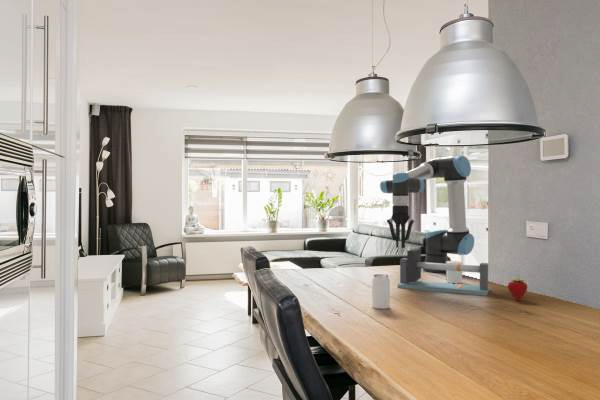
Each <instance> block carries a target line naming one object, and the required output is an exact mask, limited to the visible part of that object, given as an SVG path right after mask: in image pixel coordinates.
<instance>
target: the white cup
mask: <svg viewBox="0 0 600 400" xmlns="http://www.w3.org/2000/svg"><path fill="white" fill-rule="evenodd" d="M446 264H461V265H464V261H463V262H462V261H457V260H454V261H453V260H448V261H446ZM445 274H446V283H452V284H453V283H455V284H458V283H459V284H463V283H462V281H463V280H462V279H463V271H449V270H446V272H445Z"/></svg>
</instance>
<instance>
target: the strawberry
mask: <svg viewBox="0 0 600 400" xmlns="http://www.w3.org/2000/svg"><path fill="white" fill-rule="evenodd" d="M517 277H519V275H518V274H517ZM525 281H526V280H525V279H519V278H518V279H517V278H515V279H511V281H509V283H507V289H508V291H509V293H510V294H511V295H512V296H513V298H514V299H515V300H517V301H520V300H521V299H522V298H523V296H524V295H525V294H526V292H527V290H528V284H527V283H526V282H525Z"/></svg>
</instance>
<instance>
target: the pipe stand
mask: <svg viewBox="0 0 600 400" xmlns="http://www.w3.org/2000/svg"><path fill="white" fill-rule="evenodd" d="M416 268H420V269H421V270H423V269H434V270H449V271H462V273H463V272H466V273H479V285H475V284H474V285H473V284H465V283H459V284H453V283H448V282H438V281H427V280H417V281H415V282H407V257H403V258H400V259H399V274H400V275H399V283H398V284H397V288H399V289H409V290H420V291H429V290H430V292H431V291H432V292H440V291H442V293H443V292H444V293H451V292H452V293H453V294H454V293H455V294H463V295H465V294H466V295H474V296H487V295H488V293H489V291H490V286H489V263H487V262H481V263H479V265H473V264H463V265H461V264H444V263H428V262H424V261H421V262H416Z"/></svg>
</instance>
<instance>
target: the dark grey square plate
mask: <svg viewBox="0 0 600 400" xmlns="http://www.w3.org/2000/svg"><path fill="white" fill-rule="evenodd" d="M406 253H407V256H406V258H407V282H415V281H419V280H420V279H421V278H422V269H420V268H416V262H422V248H412V249H409V250H407V252H406Z"/></svg>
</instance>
